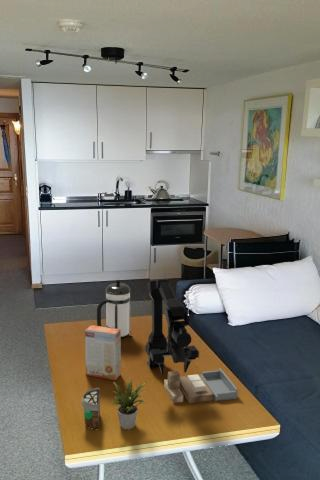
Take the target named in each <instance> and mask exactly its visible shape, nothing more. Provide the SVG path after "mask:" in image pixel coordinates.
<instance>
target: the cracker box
mask: <svg viewBox="0 0 320 480" xmlns="http://www.w3.org/2000/svg"><path fill="white" fill-rule="evenodd" d="M101 326H102V325H101ZM101 326H97V325H94V324H92V325H90V326H88V327H87V328H86V329H85V330H84V333H85V334H84V335H85V337H84V338H85V339H84V340H85V341H84V342H85V343H84V344H85V375H86V376H90V377H95V378H99V379H106V380H111V381H117V379H118V378H119V377H120V376H121V372H122V371H121V369H122V367H121V363H122V360H121V356H122V355H121V352H122V347H121V344H122V343H121V342H122V339H121V338H122V337H121V329H114V328H108V327H106V326H102V327H101Z"/></svg>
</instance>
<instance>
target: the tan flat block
mask: <svg viewBox="0 0 320 480" xmlns="http://www.w3.org/2000/svg"><path fill="white" fill-rule="evenodd" d="M198 376H199V377H200V378H201V381H203V383H204V384H205V386H206V391H199V392H194V390H193V389H192V387H191V385H190V384H189V382H188V381H187V375H185V376H180V386H179V389H180V390H181V392H182V394H183V396H184V397H185V398H186V400H187V402H188V403H189V404H193V403H200V402H201V403H202V402H208V401H209V402H210V401H215V400H214V394H213V392H212V391H211V389H210V388H209V387H208V385H207V384H206V382H205V381H204V380H203V378H202V377H201V375H200V374H198Z"/></svg>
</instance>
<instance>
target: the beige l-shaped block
mask: <svg viewBox="0 0 320 480" xmlns="http://www.w3.org/2000/svg"><path fill="white" fill-rule="evenodd" d="M180 374H181V373H180V372H179V370H175V371H174V370H173V371H168V372H167V379H164V380H163V384H164V385H163V386H164V389H165V391H166V393H167V394H168V397H169V398H170V401H172V403H173V404H176V403H183V402H184V394H183V392H182V390H181V388H180V387H179V386H180V377H181V375H180Z"/></svg>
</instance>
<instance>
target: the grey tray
mask: <svg viewBox="0 0 320 480" xmlns="http://www.w3.org/2000/svg"><path fill="white" fill-rule="evenodd" d="M199 375H201V377H202V378H203V380H204V381H205V382H206V384H207V385H208V387H209V388H210V389H211V391H212V392H213V394H214V400H213V401H215V402H221V401H229V400H237V399H238V395H239V394H238V391H239V389H238V388H237V387H236V386H235V384H234V383H233V382H232V380H231V379H230V378H229V376H228V375H227V374H226V373H225V372H224V370H222V368H221V367H219V368H218V370H210V371H202V372H201V374H199Z"/></svg>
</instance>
